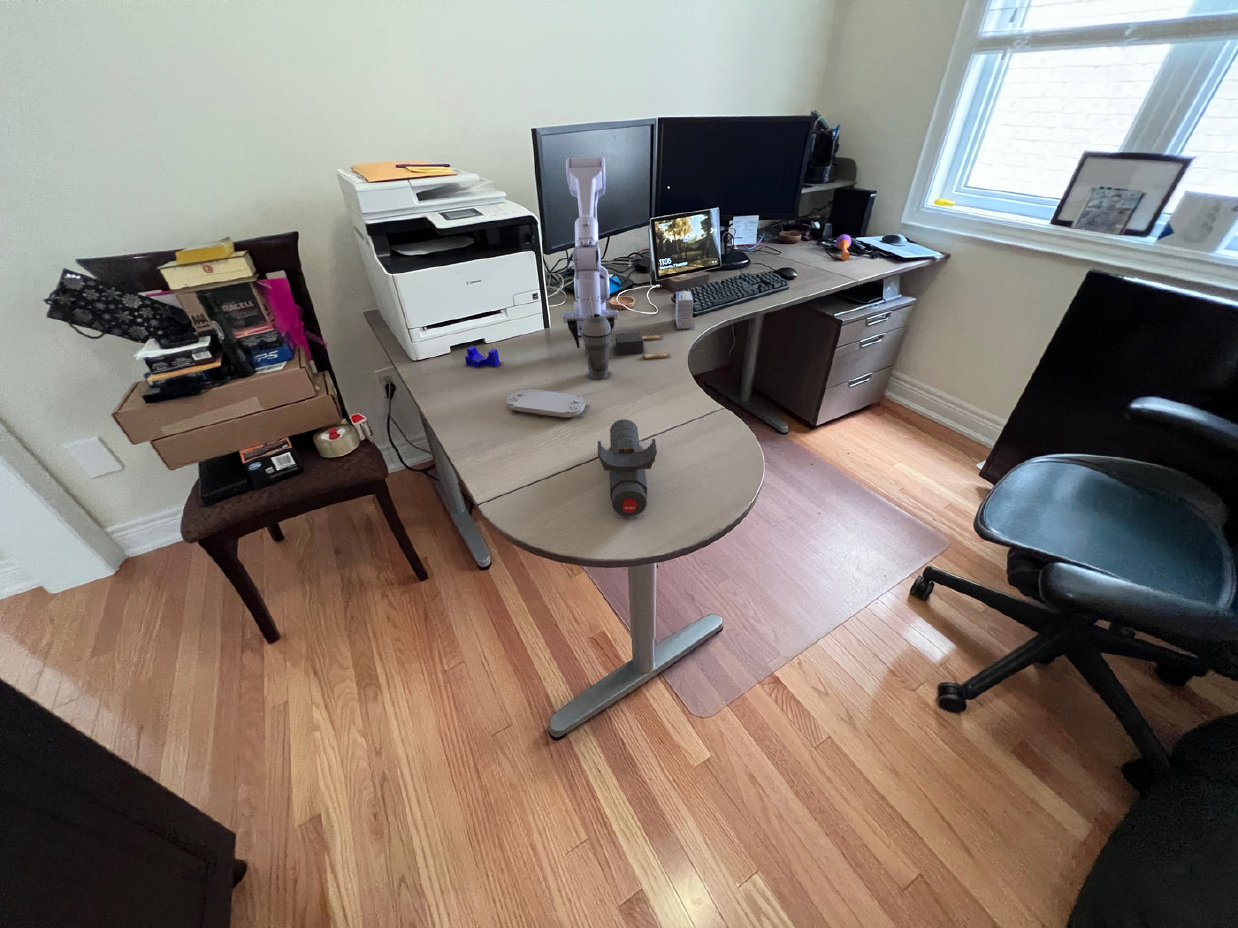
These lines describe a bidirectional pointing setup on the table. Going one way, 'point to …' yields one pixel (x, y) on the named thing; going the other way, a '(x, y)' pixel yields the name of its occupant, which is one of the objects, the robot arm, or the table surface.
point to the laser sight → (627, 467)
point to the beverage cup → (596, 343)
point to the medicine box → (684, 310)
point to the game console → (546, 403)
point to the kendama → (843, 246)
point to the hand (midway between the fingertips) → (592, 346)
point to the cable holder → (481, 358)
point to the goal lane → (648, 356)
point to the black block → (629, 343)
